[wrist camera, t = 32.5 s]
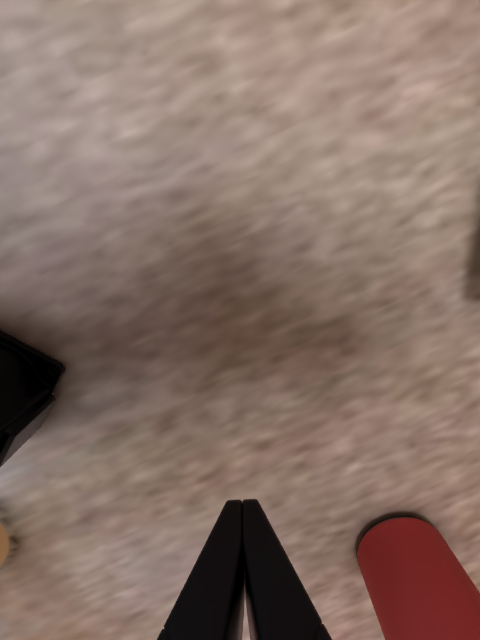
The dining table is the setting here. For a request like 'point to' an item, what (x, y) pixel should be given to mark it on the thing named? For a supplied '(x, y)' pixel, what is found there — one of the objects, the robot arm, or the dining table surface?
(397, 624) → the beer can
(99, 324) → the dining table surface
